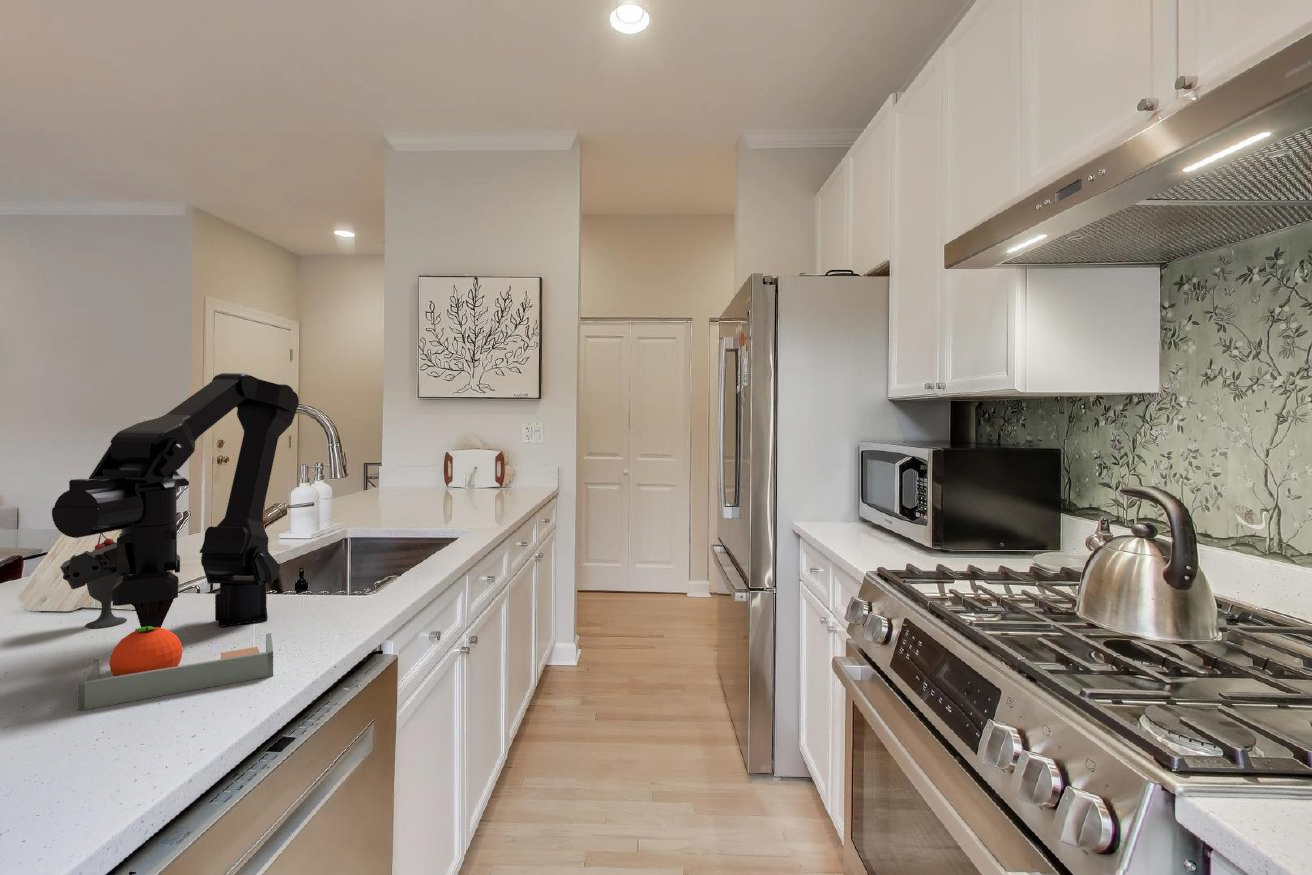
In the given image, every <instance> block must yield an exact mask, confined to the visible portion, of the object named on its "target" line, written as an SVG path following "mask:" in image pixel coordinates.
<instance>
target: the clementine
mask: <svg viewBox="0 0 1312 875" xmlns="http://www.w3.org/2000/svg"><path fill="white" fill-rule="evenodd" d="M182 644H183V643H182V642H181V640H180V639H179V637H178V636H177V635H176V634H175V633H174V632H172V631H171V630H169V629H166V628H163V627H161V628H159V627H151V626H147V627H142V628H141V627H137V628H135V630H134V631H132V632H129V634H127V635H126V636H124V637H123V638H122V639H120V641H119V642H118V643H117V644H116V645H115V647H114V648H113V650H112V652H111V654H110V657H109V662H108V664H109V670H110V673H111V674H112V677H114V676H120V675H126V674H133V673H139V672H145V671H151V670H157V669H164V668H170V667H176V666H180V662H181V660H182V657H183V651H184V650H183V645H182Z"/></svg>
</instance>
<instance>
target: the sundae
mask: <svg viewBox="0 0 1312 875" xmlns="http://www.w3.org/2000/svg"><path fill="white" fill-rule="evenodd" d="M101 536H102V537H103V538H104V539H105V540H104V541H103V542H101ZM100 542H101V543H100ZM116 543H117V541H116V542H115V541H114V539H113V538H107V537H106V536H105V535H104V533H100V534H99V536H98V541H97V544H96V545H95V546H94V549H93V550H92V551H95V550H97V549H100V548H103V547H106V546H110V545H113V544H116ZM123 577H124V576H121V577H117V571H116V572H114V573H112V574H110V575H107V576H104V577H102V578H99V579H96V580H94V581H91V582H88V583H86V587H87V591H88V595H89V597H91V598H92V599H93V600H95V601H97V602H100V604H101V610H100V614H99V616H98V618H97V619H95V620H93V621H90V622H87V623H86V624H85V625H84V627H85V628H87V629H104V628H110V627H115V626H118V625H122V624H123V623H126V622H127V621H128V619H127V618H126V617H121V616H115V615H114V613H113V610H112V603H113V598H112V590H113V588H114V586H115V584H116V583H117V582H118V581H119V580H121V579H122V578H123Z"/></svg>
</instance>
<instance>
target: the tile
mask: <svg viewBox="0 0 1312 875" xmlns="http://www.w3.org/2000/svg"><path fill="white" fill-rule="evenodd" d="M257 653H261V652H260V650H259V647H258V646H254V647H253V646H252V647H247V648H240V649H236V650H231V651H224V652H221V653H220V659H226V658H232V657H239V656H245V655H251V654H257Z"/></svg>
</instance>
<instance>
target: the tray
mask: <svg viewBox="0 0 1312 875" xmlns="http://www.w3.org/2000/svg"><path fill="white" fill-rule="evenodd" d="M273 648H274V647H273V637H272V632H269V633H265V652H260V653H257V654H251V655H245V656H239V657H232V658H226V659H221V658H220V659H214V660H208V661H203V662H202V661H201V662H195V663H191V664H189V663H188V664H182V665H178V666H176V667H170V668H164V669H157V670H151V671H145V672H139V673H133V674H126V675H120V676H110V677H109V676H108V677H103V678H101V668H100V666H101V657H100V658H99V657H98V658H93V659H92V661H91V662H90V663H89V666H88V667H87V668H86V670H85V671H84V673H83V675H82V677H80V680H79V681H78V683H77V711H79V712H80V711H83V710H89V709H90V710H91V709H95V708H101V707H107V706H112V705H117V704H122V703H129V702H134V701H139V700H140V701H141V700H145V699H151V698H157V697H162V696H167V695H173V694H177V693H179V694H180V693H184V692H190V691H195V690H201V689H205V688H213V687H218V686H223V685H228V684H234V683H240V682H245V681H246V682H247V681H250V680H257V679H262V678H268V677H273V676H274V649H273Z"/></svg>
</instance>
